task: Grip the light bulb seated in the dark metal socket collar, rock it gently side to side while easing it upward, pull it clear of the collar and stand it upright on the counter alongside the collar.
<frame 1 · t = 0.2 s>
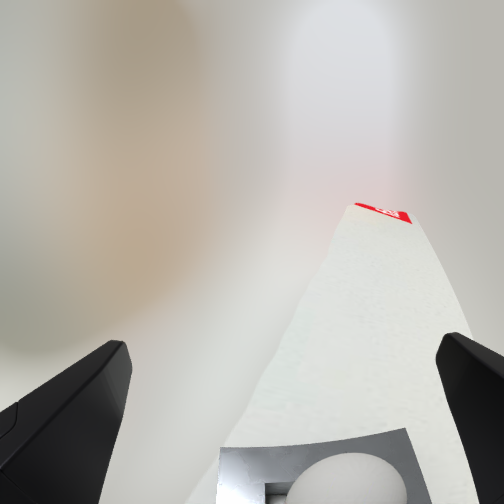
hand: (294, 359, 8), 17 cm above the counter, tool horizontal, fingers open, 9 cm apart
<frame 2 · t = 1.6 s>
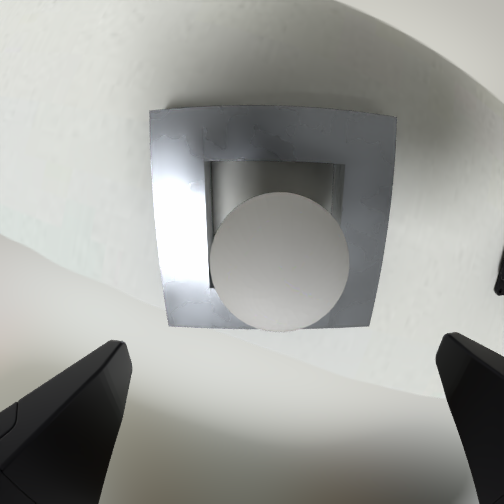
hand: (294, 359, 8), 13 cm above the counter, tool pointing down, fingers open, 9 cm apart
light bulb: (271, 216, 20), resting in socket collar
socket collar: (272, 216, 20), on the counter
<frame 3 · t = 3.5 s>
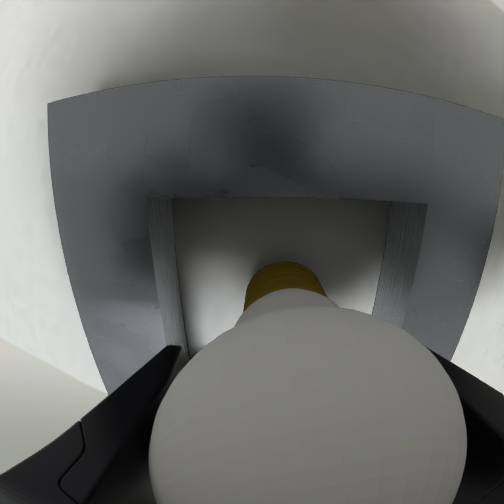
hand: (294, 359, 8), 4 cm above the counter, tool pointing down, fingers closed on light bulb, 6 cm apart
light bulb: (281, 282, 12), resting in socket collar, touching gripper
socket collar: (282, 285, 11), on the counter
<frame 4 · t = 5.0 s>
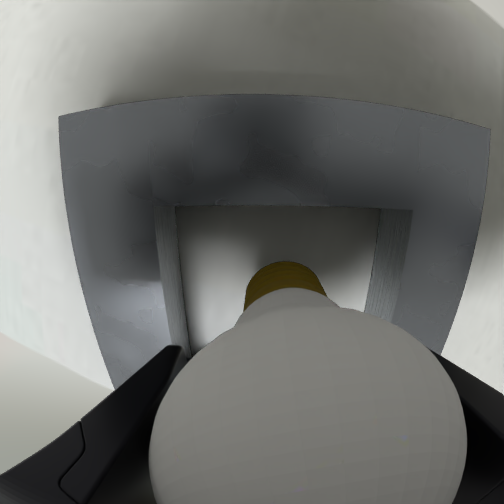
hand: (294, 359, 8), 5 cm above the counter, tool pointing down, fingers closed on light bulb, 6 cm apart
light bulb: (281, 282, 12), resting in socket collar, touching gripper
socket collar: (278, 285, 12), on the counter
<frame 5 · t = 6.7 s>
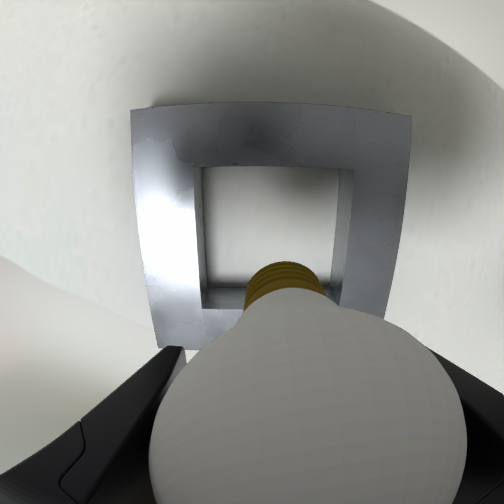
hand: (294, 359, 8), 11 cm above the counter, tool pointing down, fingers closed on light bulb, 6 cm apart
light bulb: (281, 282, 12), point 7 cm above the counter, touching gripper
socket collar: (270, 228, 18), on the counter
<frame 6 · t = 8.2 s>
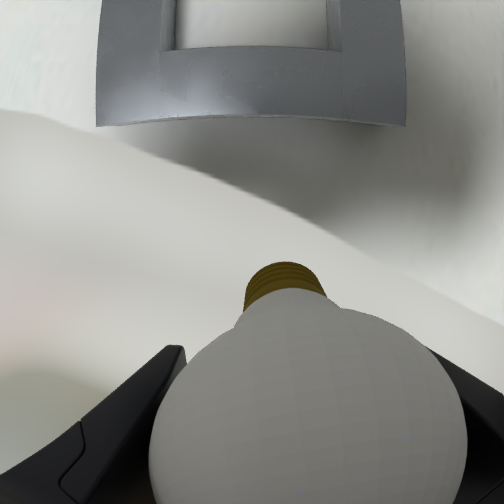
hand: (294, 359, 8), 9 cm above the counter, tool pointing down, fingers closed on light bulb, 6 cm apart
light bulb: (281, 282, 12), point 5 cm above the counter, touching gripper
when the fingers open (5 cm above the counter, at t = 9.7 s): light bulb stays where it is, on the counter.
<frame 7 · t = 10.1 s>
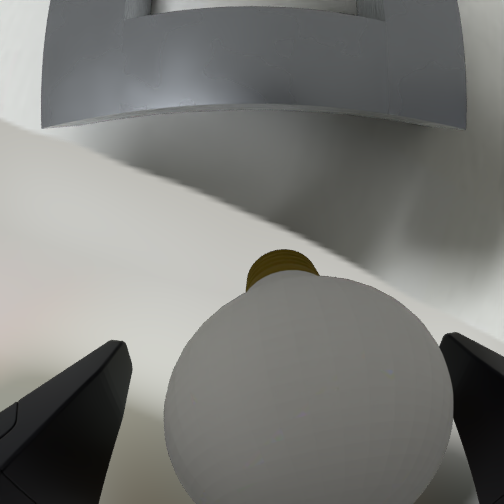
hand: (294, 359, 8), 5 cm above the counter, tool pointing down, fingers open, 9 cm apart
light bulb: (279, 270, 12), on the counter
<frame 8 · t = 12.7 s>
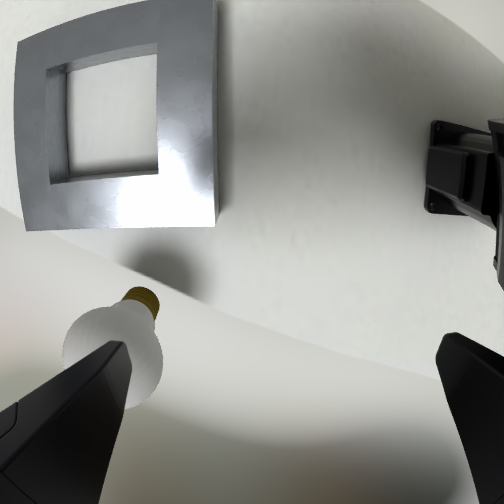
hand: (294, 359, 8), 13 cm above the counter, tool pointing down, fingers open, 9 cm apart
light bulb: (146, 295, 22), on the counter
socket collar: (112, 115, 17), on the counter
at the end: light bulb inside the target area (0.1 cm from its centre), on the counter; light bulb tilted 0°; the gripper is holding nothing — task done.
